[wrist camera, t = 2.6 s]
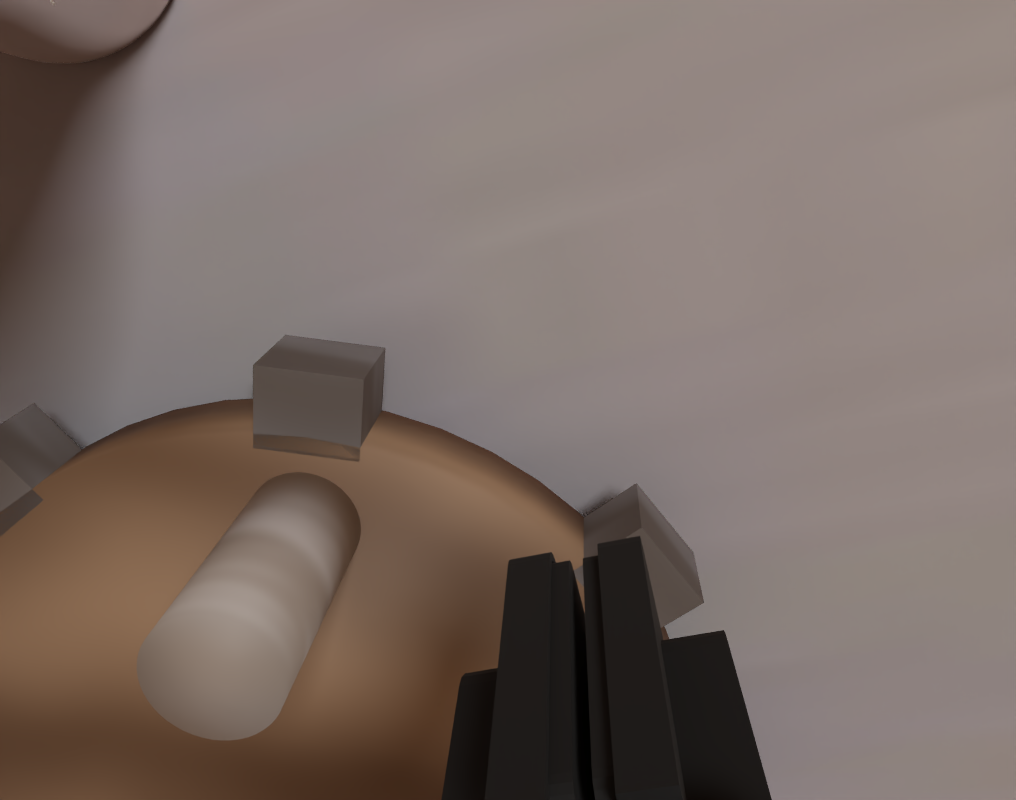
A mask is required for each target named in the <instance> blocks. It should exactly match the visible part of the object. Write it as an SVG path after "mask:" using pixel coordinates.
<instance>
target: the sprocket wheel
mask: <svg viewBox="0 0 1016 800" xmlns="http://www.w3.org/2000/svg"><path fill="white" fill-rule="evenodd" d="M384 363H385V348H382V347H374V346H367V345H359V344H351V343H343V342H335V341H328V340H320V339H312V338H304V337H297V336H289V335H285V336H284V337H283V338H282V339H281V340H280V341H278V342H277V343H276V344H275V345H274V346H273V347H272V348H271V349H270V350H269V351H268V352H267V353H266V354H265V355H263V356H262V357H261V358H260V359H259V360H258V361H257V362H256V363H255V364H254V365H253V399H240V400H224V401H219V402H213V403H208V404H203V405H197V406H192V407H187V408H182V409H176V410H172V411H169V412H167V413H164V414H161V415H158V416H155V417H152V418H149V419H146V420H143V421H140V422H137V423H134V424H131V425H128V426H126V427H124V428H122V429H120V430H118V431H116V432H114V433H112V434H110V435H108V436H106V437H104V438H102V439H100V440H98V441H96V442H94V443H93V444H91V445H89V446H87V447H85V448H84V449H82V450H81V449H80V448H79V447H78V446H77V445H76V444H75V443H74V442H73V441H72V440H71V439H70V438H69V437H68V436H67V435H66V434H65V433H64V432H63V431H62V430H61V429H60V428H59V427H58V426H57V425H56V424H55V423H54V422H53V421H52V420H51V419H50V418H49V417H48V416H47V415H46V414H45V413H44V412H43V411H42V410H41V409H40V408H39V407H38V406H37V405H36V404H35V403H34V404H32V405H30V406H29V407H27V408H26V409H24V410H23V411H21V412H19V413H18V414H16V415H15V416H13V417H12V418H10V419H8V420H7V421H5V422H4V423H2V424H0V800H441V799H442V792H443V786H444V779H445V773H446V767H447V760H448V754H449V747H450V741H451V735H452V728H453V722H454V715H455V709H456V703H457V696H458V690H459V685H460V681H461V677H462V676H463V675H464V674H465V673H470V672H476V671H482V670H488V669H494V668H498V659H499V649H500V639H501V629H502V619H503V609H504V599H505V589H506V579H507V569H508V562H509V560H511V559H516V558H521V557H527V556H532V555H538V554H543V553H549V552H552V554H553V555H554V558H555V561H556V563H558V562H563V561H569V560H570V561H571V563H572V566H573V570H574V573H575V577H576V581H577V585H578V589H579V593H580V597H581V601H582V605H583V609H584V612H585V603H584V579H583V558H585V557H591V556H596V555H598V549H597V544H598V543H603V542H608V541H614V540H619V539H625V538H630V537H636V536H640V537H641V541H642V545H643V550H644V554H645V559H646V563H647V568H648V572H649V577H650V581H651V586H652V590H653V595H654V599H655V604H656V609H657V613H658V618H659V622H660V627H661V631H662V636H663V640H668V639H669V637H668V634H667V632H666V629H665V627H664V626H665V625H667V624H668V623H670V622H672V621H673V620H675V619H677V618H679V617H680V616H682V615H684V614H685V613H687V612H689V611H690V610H692V609H694V608H695V607H697V606H699V605H701V604H702V603H704V601H703V596H702V591H701V586H700V582H699V577H698V572H697V568H696V563H695V558H694V554H693V552H692V550H691V549H690V548H689V547H688V545H687V544H686V543H685V542H684V541H683V539H682V538H681V537H680V536H679V534H678V533H677V532H676V531H675V530H674V528H673V527H672V526H671V525H670V523H669V522H668V521H667V520H666V519H665V517H664V516H663V515H662V514H661V512H660V511H659V510H658V509H657V508H656V506H655V505H654V504H653V503H652V502H651V500H650V499H649V498H648V497H647V495H646V494H645V493H644V492H643V491H642V489H641V488H640V487H639V486H638V484H637V483H636V484H634V485H633V486H631V487H630V488H628V489H627V490H625V491H624V492H622V493H621V494H619V495H618V496H616V497H615V498H613V499H612V500H610V501H608V502H607V503H605V504H604V505H602V506H601V507H599V508H598V509H596V510H595V511H593V512H592V513H590V514H589V515H587V516H586V517H583V516H582V515H581V514H580V513H579V512H577V511H576V510H575V509H574V508H572V507H571V506H570V505H569V504H567V503H566V502H565V501H564V500H562V499H561V498H560V497H558V496H557V495H556V494H555V493H553V492H552V491H551V490H550V489H548V488H547V487H546V486H545V485H543V484H542V483H541V482H540V481H538V480H537V479H535V478H534V477H532V476H530V475H529V474H527V473H525V472H524V471H522V470H520V469H519V468H517V467H516V466H514V465H512V464H511V463H509V462H507V461H506V460H504V459H502V458H501V457H499V456H498V455H496V454H494V453H493V452H491V451H489V450H486V449H484V448H482V447H480V446H478V445H475V444H473V443H471V442H469V441H467V440H464V439H462V438H460V437H458V436H456V435H454V434H451V433H449V432H447V431H445V430H443V429H440V428H437V427H434V426H431V425H428V424H424V423H421V422H418V421H415V420H412V419H409V418H406V417H403V416H400V415H396V414H393V413H390V412H386V411H382V397H383V380H384Z"/></svg>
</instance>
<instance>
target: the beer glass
mask: <svg viewBox="0 0 1016 800" xmlns="http://www.w3.org/2000/svg"><path fill="white" fill-rule="evenodd" d="M169 1H170V0H0V52H3V53H6V54H9V55H13V56H17V57H21V58H25V59H29V60H34V61H39V62H47V63H81V62H87V61H92V60H96V59H100V58H103V57H105V56H108V55H111V54H113V53H115V52H117V51H119V50H121V49H123V48H124V47H126V46H128V45H129V44H131V43H132V42H134V41H135V40H137V39H138V38H139V37H140V36H142V35H143V34H144V33H145V32H146V31H147V30H148V29H149V28H150V27H151V26H152V25H153V24H154V23H155V22H156V20H157V19H158V18H159V17H160V15H161V14H162V13H163V11H164V10H165V8H166V6H167V5H168V3H169Z"/></svg>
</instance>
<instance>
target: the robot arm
mask: <svg viewBox="0 0 1016 800" xmlns="http://www.w3.org/2000/svg"><path fill="white" fill-rule="evenodd" d="M597 549H598V555H596V556H591V557H585V558H583V579H584V603H585V612H584V609H583V605H582V601H581V597H580V593H579V589H578V585H577V581H576V577H575V573H574V570H573V566H572V563H571V561H570V560H569V561H563V562H558V563H556V561H555V558H554V555H553V554H552V552H549V553H543V554H538V555H532V556H527V557H521V558H516V559H511V560H509V562H508V569H507V579H506V589H505V599H504V609H503V619H502V629H501V639H500V649H499V659H498V668H494V669H488V670H482V671H476V672H470V673H465V674H464V675H463V676H462V677H461V681H460V685H459V690H458V696H457V703H456V709H455V715H454V722H453V728H452V735H451V741H450V747H449V754H448V760H447V767H446V773H445V779H444V786H443V792H442V799H441V800H772V799H771V796H770V792H769V788H768V785H767V781H766V778H765V774H764V770H763V767H762V763H761V760H760V756H759V752H758V749H757V745H756V742H755V738H754V734H753V731H752V727H751V724H750V720H749V716H748V713H747V709H746V706H745V702H744V698H743V695H742V691H741V688H740V684H739V680H738V677H737V673H736V670H735V666H734V662H733V659H732V655H731V652H730V648H729V644H728V641H727V638H726V634H725V632H724V630H722V631H716V632H710V633H704V634H698V635H692V636H686V637H680V638H674V639H668V640H663V636H662V631H661V627H660V622H659V618H658V613H657V609H656V604H655V599H654V595H653V590H652V586H651V581H650V577H649V572H648V568H647V563H646V559H645V554H644V550H643V545H642V541H641V537H640V536H636V537H630V538H625V539H619V540H614V541H608V542H603V543H598V544H597Z"/></svg>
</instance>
